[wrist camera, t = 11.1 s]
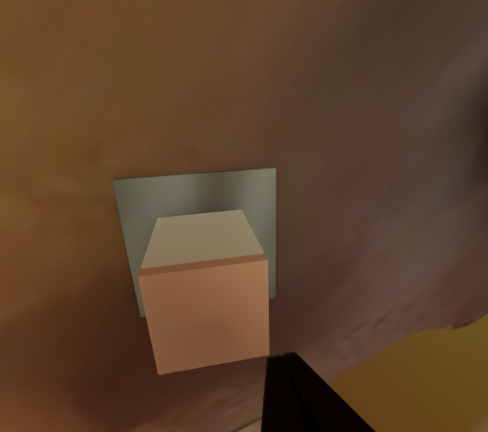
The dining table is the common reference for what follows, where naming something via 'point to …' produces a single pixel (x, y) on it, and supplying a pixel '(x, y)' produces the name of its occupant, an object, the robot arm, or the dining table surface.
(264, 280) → the cream orange-topped box
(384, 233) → the dining table surface
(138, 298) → the grey flat square slab
